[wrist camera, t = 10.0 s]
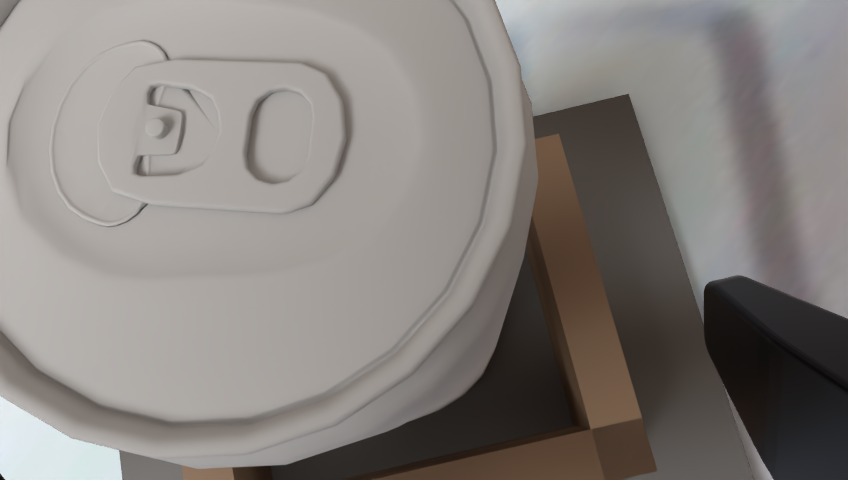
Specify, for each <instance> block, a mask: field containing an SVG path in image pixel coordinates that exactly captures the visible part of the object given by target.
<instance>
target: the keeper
mask: <svg viewBox="0 0 848 480" xmlns="http://www.w3.org/2000/svg"><path fill="white" fill-rule="evenodd" d="M533 127H534V137H535V148H536V158H537V169H538V185H537V190H536V195H535V200H534V206H533V211H532V216H531V221H530V227H529V232H528V237H527V243H526V248H525V253H524V258H523V262H522V265H521V268H520V271H519V275H518V278H517V281H516V284H515V287H514V290H513V294H512V297H511V300H510V303H509V306H508V310H507V313H506V316H505V319H504V322H503V326H502V329H501V332H500V335H499V338H498V342H497V345H496V348H495V351H494V353H493V355H492V357H491V359H490V361H489V363H488V365H487V368H486V370H485V372H484V374H483V376H482V377H481V378H480V379H479V380H478V381H477V382H476V383H475V384H474V385H473V386H472V387H471V388H470V390H469V391H468V392H467V393H466V394H465V395H464V396H462V397H461V398H459V399H457V400H456V401H454V402H453V403H451V404H449V405H448V406H446V407H444V408H443V409H441V410H439V411H436V412H434V413H431V414H429V415H426V416H423V417H421V418H418V419H415V420H412V421H409V422H407V423H405V424H403V425H401V426H399V427H396V428H394V429H392V430H389V431H387V432H384V433H381V434H378V435H375V436H372V437H369V438H366V439H363V440H360V441H357V442H354V443H351V444H348V445H345V446H341V447H338V448H335V449H332V450H329V451H326V452H323V453H320V454H317V455H314V456H311V457H308V458H305V459H302V460H299V461H296V462H293V463H290V464H287V465H269V466H249V467H228V468H208V469H195V468H191V467H187V466H183V465H179V464H175V463H171V462H167V461H163V460H159V459H154V458H150V457H146V456H142V455H138V454H134V453H129V452H125V451H121V450H119V452H120V461H121V470H122V479H123V480H754V479H753V476H752V473H751V469H750V466H749V463H748V460H747V457H746V454H745V451H744V448H743V445H742V442H741V439H740V436H739V433H738V429H737V426H736V423H735V420H734V417H733V414H732V411H731V408H730V405H729V402H728V399H727V396H726V393H725V389H724V386H723V383H722V380H721V378H720V376H719V374H718V372H717V370H716V368H715V366H714V364H713V362H712V360H711V358H710V355H709V353H708V351H707V348H706V344H705V339H704V325H703V322H702V319H701V316H700V312H699V309H698V306H697V303H696V300H695V297H694V294H693V291H692V288H691V285H690V282H689V279H688V276H687V272H686V269H685V266H684V263H683V260H682V257H681V254H680V251H679V248H678V245H677V242H676V239H675V236H674V232H673V229H672V226H671V223H670V220H669V217H668V214H667V211H666V208H665V205H664V202H663V199H662V196H661V192H660V189H659V186H658V183H657V180H656V177H655V174H654V171H653V168H652V165H651V162H650V159H649V156H648V152H647V149H646V146H645V143H644V140H643V137H642V134H641V131H640V128H639V125H638V122H637V119H636V116H635V112H634V109H633V106H632V103H631V100H630V97H629V94H626V95H622V96H618V97H614V98H610V99H605V100H601V101H597V102H593V103H589V104H585V105H580V106H576V107H572V108H568V109H564V110H560V111H556V112H551V113H547V114H543V115H539V116H535V117H533Z"/></svg>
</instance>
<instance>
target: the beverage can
mask: <svg viewBox="0 0 848 480" xmlns="http://www.w3.org/2000/svg"><path fill="white" fill-rule="evenodd" d="M537 185H538V169H537V158H536V148H535V137H534V127H533V116H532V106H531V101H530V99H529V96H528V94H527V91H526V89H525V86H524V84H523V81H522V77H521V67H520V64H519V61H518V59H517V56H516V53H515V51H514V48H513V46H512V43H511V41H510V38H509V35H508V33H507V30H506V28H505V25H504V23H503V20H502V18H501V15H500V12H499V10H498V7H497V5H496V2H495V0H0V396H1V397H3V398H5V399H6V400H8V401H10V402H11V403H13V404H15V405H16V406H18V407H20V408H21V409H23V410H25V411H27V412H28V413H30V414H32V415H33V416H35V417H37V418H38V419H40V420H42V421H43V422H45V423H47V424H49V425H50V426H52V427H54V428H55V429H57V430H59V431H60V432H62V433H64V434H65V435H67V436H69V437H70V438H73V439H77V440H81V441H85V442H89V443H93V444H97V445H101V446H105V447H109V448H113V449H117V450H121V451H125V452H129V453H134V454H138V455H142V456H146V457H150V458H154V459H159V460H163V461H167V462H171V463H175V464H179V465H183V466H187V467H191V468H195V469H208V468H228V467H249V466H269V465H287V464H290V463H293V462H296V461H299V460H302V459H305V458H308V457H311V456H314V455H317V454H320V453H323V452H326V451H329V450H332V449H335V448H338V447H341V446H345V445H348V444H351V443H354V442H357V441H360V440H363V439H366V438H369V437H372V436H375V435H378V434H381V433H384V432H387V431H389V430H392V429H394V428H396V427H399V426H401V425H403V424H405V423H407V422H409V421H412V420H415V419H418V418H421V417H423V416H426V415H429V414H431V413H434V412H436V411H439V410H441V409H443V408H444V407H446V406H448V405H449V404H451V403H453V402H454V401H456V400H457V399H459V398H461V397H462V396H464V395H465V394H466V393H467V392H468V391H469V390H470V388H471V387H472V386H473V385H474V384H475V383H476V382H477V381H478V380H479V379H480V378H481V377H482V376H483V374H484V372H485V370H486V368H487V365H488V363H489V361H490V359H491V357H492V355H493V353H494V351H495V348H496V345H497V342H498V338H499V335H500V332H501V329H502V326H503V322H504V319H505V316H506V313H507V310H508V306H509V303H510V300H511V297H512V294H513V290H514V287H515V284H516V281H517V278H518V275H519V271H520V268H521V265H522V262H523V258H524V253H525V248H526V243H527V237H528V232H529V227H530V221H531V216H532V211H533V206H534V200H535V195H536V190H537Z"/></svg>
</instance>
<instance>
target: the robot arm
mask: <svg viewBox="0 0 848 480" xmlns="http://www.w3.org/2000/svg"><path fill="white" fill-rule="evenodd" d="M704 339H705V344H706V348H707V351H708V353H709V355H710V358H711V360H712V362H713V364H714V366H715V368H716V370H717V372H718V374H719V376H720V378H721V380H722V382H723V384H724V386H725V388H726V390H727V392H728V394H729V396H730V398H731V400H732V402H733V404H734V406H735V408H736V410H737V412H738V414H739V416H740V418H741V420H742V422H743V424H744V426H745V428H746V430H747V432H748V434H749V436H750V438H751V440H752V442H753V444H754V446H755V447H756V449H757V451H758V453H759V455H760V457H761V459H762V461H763V463H764V464H765V466H766V467H767V469H768V471H769V472H770V474H771V476H772V477H773V479H774V480H848V319H847V318H845V317H842V316H840V315H837V314H835V313H832V312H830V311H828V310H825V309H823V308H820V307H818V306H815V305H813V304H810V303H808V302H806V301H803V300H801V299H798V298H796V297H793V296H791V295H789V294H786V293H784V292H781V291H779V290H776V289H774V288H771V287H769V286H767V285H764V284H762V283H759V282H757V281H754V280H752V279H750V278H747V277H744V276H739V275H738V276H732V277H728V278H723V279H719V280H715V281H711V282H709V283H708V284H707V285H706V286H705V289H704ZM0 480H5V479H4V478H3V477H2V475H1V474H0Z"/></svg>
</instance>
